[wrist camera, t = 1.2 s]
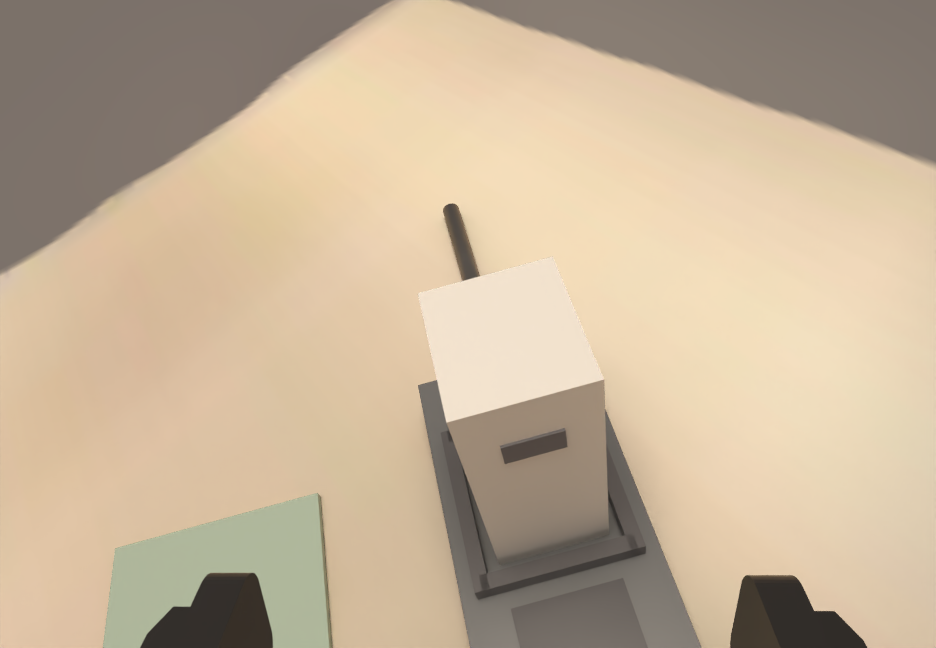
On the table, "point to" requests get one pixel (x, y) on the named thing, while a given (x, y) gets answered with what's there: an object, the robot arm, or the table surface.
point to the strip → (555, 555)
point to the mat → (228, 551)
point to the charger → (522, 406)
